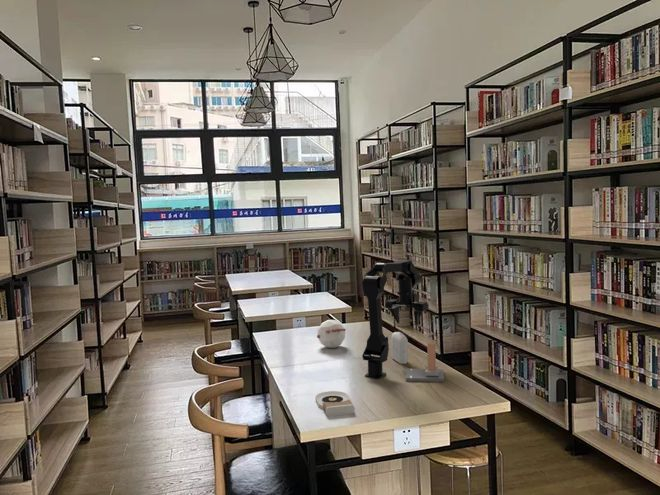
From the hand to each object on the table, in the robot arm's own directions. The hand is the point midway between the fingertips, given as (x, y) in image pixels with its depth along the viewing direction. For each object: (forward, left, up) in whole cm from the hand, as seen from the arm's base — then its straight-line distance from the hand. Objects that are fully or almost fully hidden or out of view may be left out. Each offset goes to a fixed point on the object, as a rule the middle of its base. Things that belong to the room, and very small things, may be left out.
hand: (407, 324), depth 231 cm
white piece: (+4, +43, -16) cm, 46 cm away
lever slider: (-18, -18, -14) cm, 29 cm away
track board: (-19, -15, -16) cm, 29 cm away
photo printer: (-3, +3, -16) cm, 16 cm away
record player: (-60, +1, -16) cm, 62 cm away
